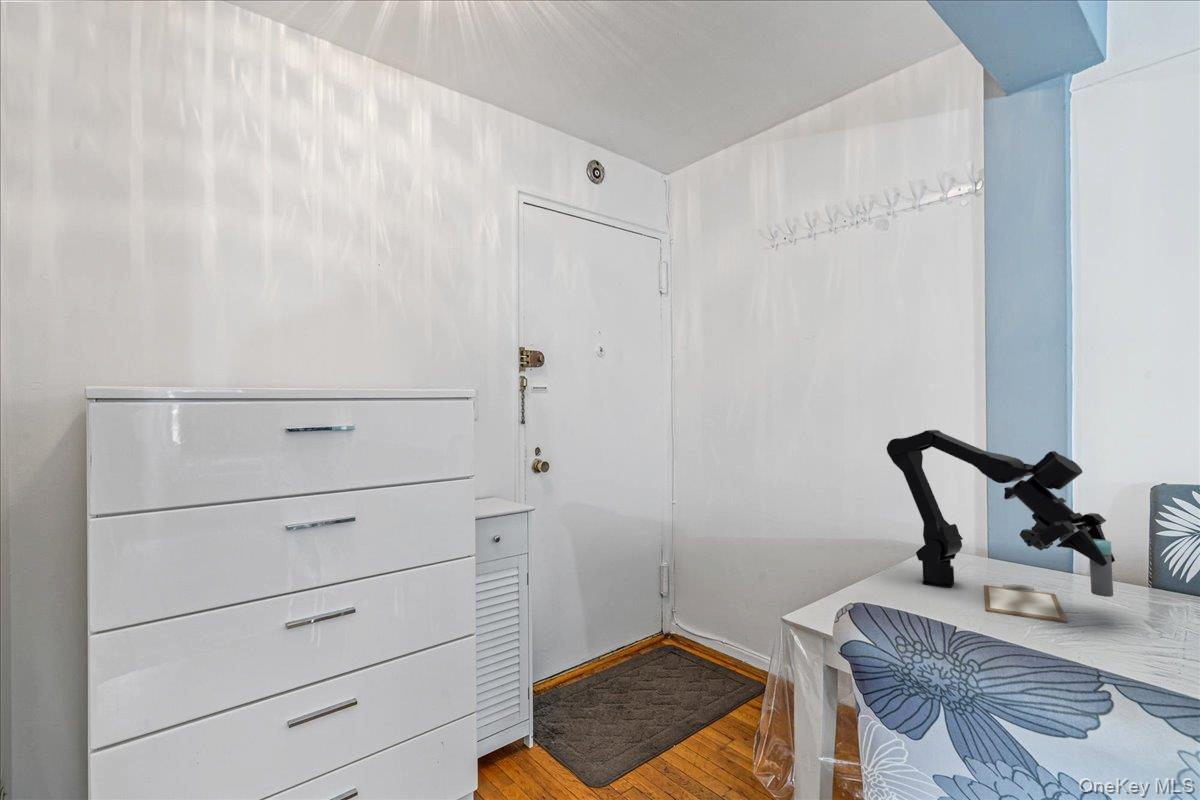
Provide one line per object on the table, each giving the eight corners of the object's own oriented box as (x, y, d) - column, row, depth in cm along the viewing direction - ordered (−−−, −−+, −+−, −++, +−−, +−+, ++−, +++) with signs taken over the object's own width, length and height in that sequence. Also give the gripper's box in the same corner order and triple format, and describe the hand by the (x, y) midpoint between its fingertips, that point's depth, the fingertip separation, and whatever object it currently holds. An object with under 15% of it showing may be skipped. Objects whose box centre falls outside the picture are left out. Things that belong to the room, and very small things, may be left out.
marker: (1092, 595, 113) (1089, 541, 113) (1089, 590, 116) (1086, 538, 116) (1115, 597, 111) (1112, 543, 111) (1111, 592, 114) (1109, 540, 114)
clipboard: (985, 611, 122) (985, 603, 122) (983, 586, 139) (983, 580, 139) (1066, 623, 114) (1066, 615, 114) (1055, 595, 131) (1054, 588, 131)
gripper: (1034, 519, 132) (1094, 577, 122) (993, 529, 123) (1055, 591, 113) (1073, 490, 125) (1140, 548, 115) (1033, 498, 116) (1103, 561, 106)
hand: (1109, 563), depth 112 cm, fingers closed on marker, 3 cm apart
